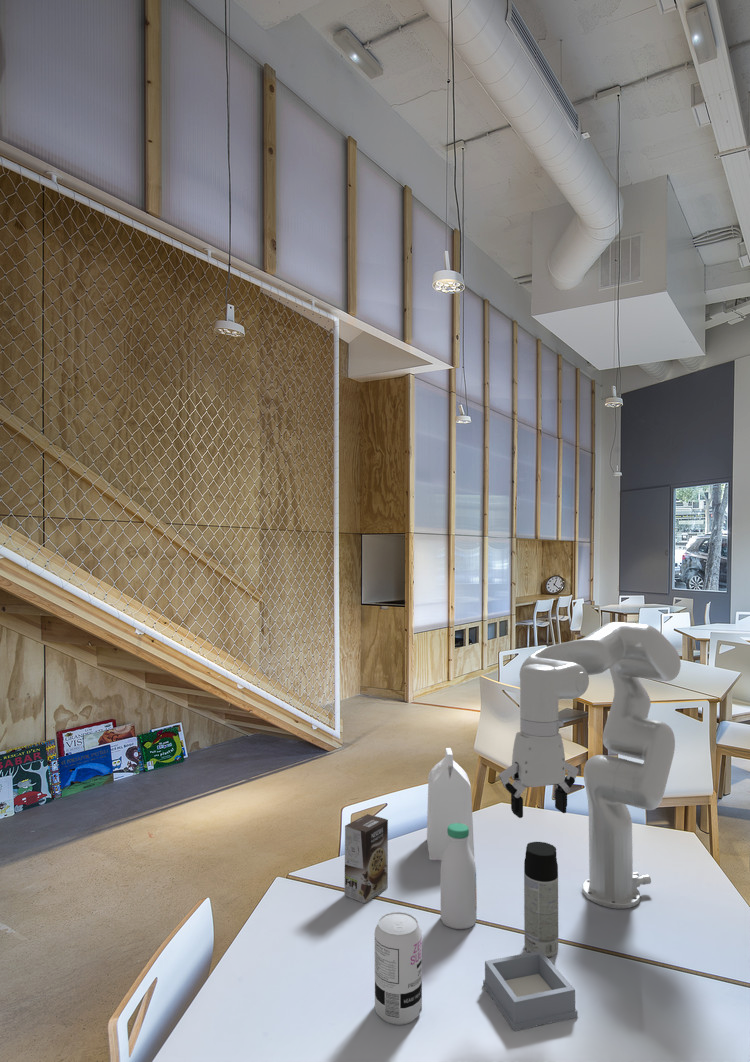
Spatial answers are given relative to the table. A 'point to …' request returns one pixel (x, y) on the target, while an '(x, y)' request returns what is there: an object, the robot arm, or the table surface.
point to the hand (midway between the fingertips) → (539, 813)
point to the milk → (447, 804)
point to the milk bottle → (458, 880)
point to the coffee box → (366, 857)
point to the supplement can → (398, 968)
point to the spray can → (541, 898)
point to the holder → (529, 990)
